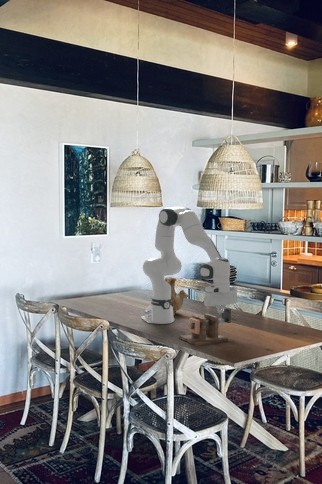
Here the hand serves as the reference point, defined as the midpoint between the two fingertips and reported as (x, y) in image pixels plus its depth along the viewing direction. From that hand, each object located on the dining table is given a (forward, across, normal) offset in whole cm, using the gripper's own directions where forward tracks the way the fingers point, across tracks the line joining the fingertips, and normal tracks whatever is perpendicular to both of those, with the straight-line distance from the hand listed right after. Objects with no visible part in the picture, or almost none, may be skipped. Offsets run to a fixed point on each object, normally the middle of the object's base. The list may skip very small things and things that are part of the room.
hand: (220, 313), depth 281 cm
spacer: (+5, +17, 0) cm, 18 cm away
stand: (+13, +10, 0) cm, 17 cm away
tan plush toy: (+13, -8, -62) cm, 64 cm away
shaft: (+5, +8, 0) cm, 9 cm away
